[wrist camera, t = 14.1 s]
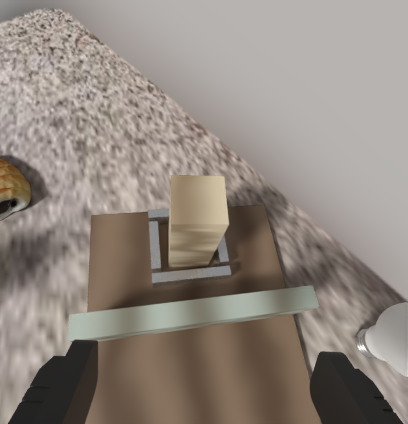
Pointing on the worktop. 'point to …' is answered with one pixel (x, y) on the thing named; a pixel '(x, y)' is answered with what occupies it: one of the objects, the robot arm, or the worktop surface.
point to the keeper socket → (184, 275)
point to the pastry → (12, 189)
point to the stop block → (196, 219)
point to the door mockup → (194, 330)
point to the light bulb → (388, 338)
